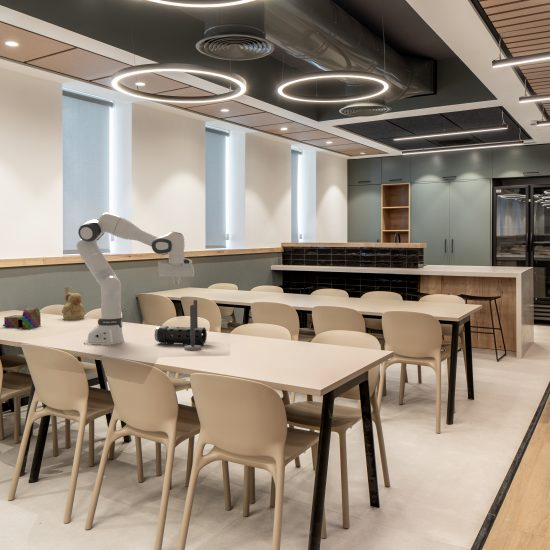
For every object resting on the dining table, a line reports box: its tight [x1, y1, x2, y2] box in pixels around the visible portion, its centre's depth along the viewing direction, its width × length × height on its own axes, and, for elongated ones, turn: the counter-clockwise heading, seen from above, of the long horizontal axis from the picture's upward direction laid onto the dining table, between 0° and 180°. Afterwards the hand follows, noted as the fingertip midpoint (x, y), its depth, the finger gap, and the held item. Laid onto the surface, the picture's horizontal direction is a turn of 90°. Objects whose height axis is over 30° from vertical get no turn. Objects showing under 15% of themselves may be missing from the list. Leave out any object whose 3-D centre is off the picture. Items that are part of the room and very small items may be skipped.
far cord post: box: [192, 299, 199, 328], centre depth 335 cm, size 9×9×24 cm
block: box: [2, 307, 42, 330], centre depth 390 cm, size 25×17×14 cm
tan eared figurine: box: [61, 287, 85, 321], centre depth 424 cm, size 17×20×25 cm
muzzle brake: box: [154, 325, 208, 346], centre depth 320 cm, size 10×28×10 cm, turn 78°
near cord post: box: [183, 304, 202, 352], centre depth 305 cm, size 9×9×24 cm
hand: (176, 284), depth 322 cm, fingers closed
